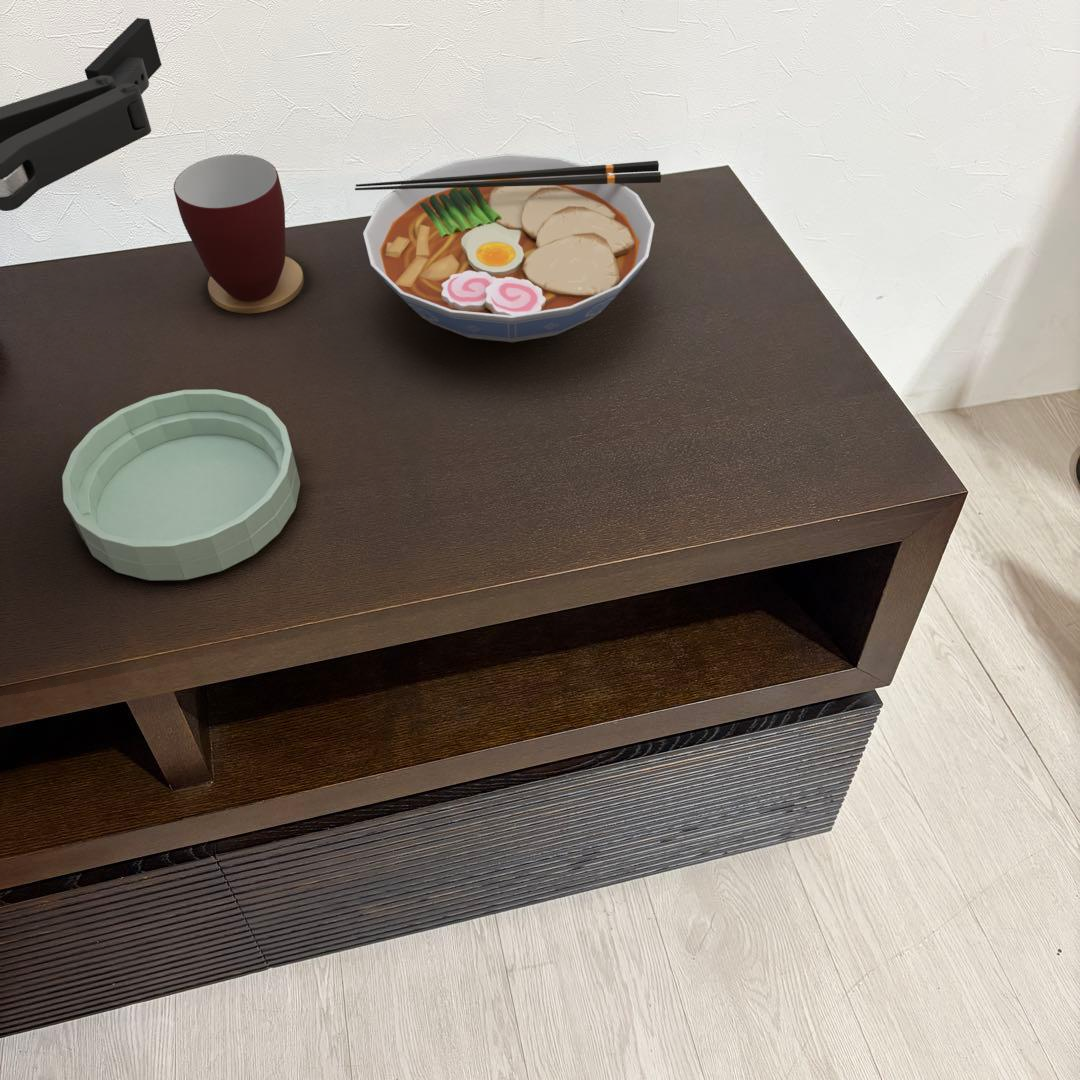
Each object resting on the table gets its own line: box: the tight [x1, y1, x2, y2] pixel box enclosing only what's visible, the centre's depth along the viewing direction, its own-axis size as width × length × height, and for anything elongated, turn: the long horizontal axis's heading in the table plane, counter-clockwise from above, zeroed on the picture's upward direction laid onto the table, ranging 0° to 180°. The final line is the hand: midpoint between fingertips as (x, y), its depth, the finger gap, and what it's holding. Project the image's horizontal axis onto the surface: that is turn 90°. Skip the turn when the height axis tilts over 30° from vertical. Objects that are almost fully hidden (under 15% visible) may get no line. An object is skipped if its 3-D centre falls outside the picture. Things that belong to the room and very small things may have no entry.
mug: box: [173, 153, 287, 302], centre depth 90 cm, size 11×8×10 cm
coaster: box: [207, 255, 305, 314], centre depth 94 cm, size 8×8×1 cm
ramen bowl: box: [354, 153, 662, 343], centre depth 88 cm, size 25×23×8 cm
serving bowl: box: [61, 388, 301, 581], centre depth 75 cm, size 15×15×4 cm
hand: (43, 32), depth 65 cm, fingers open, 13 cm apart
